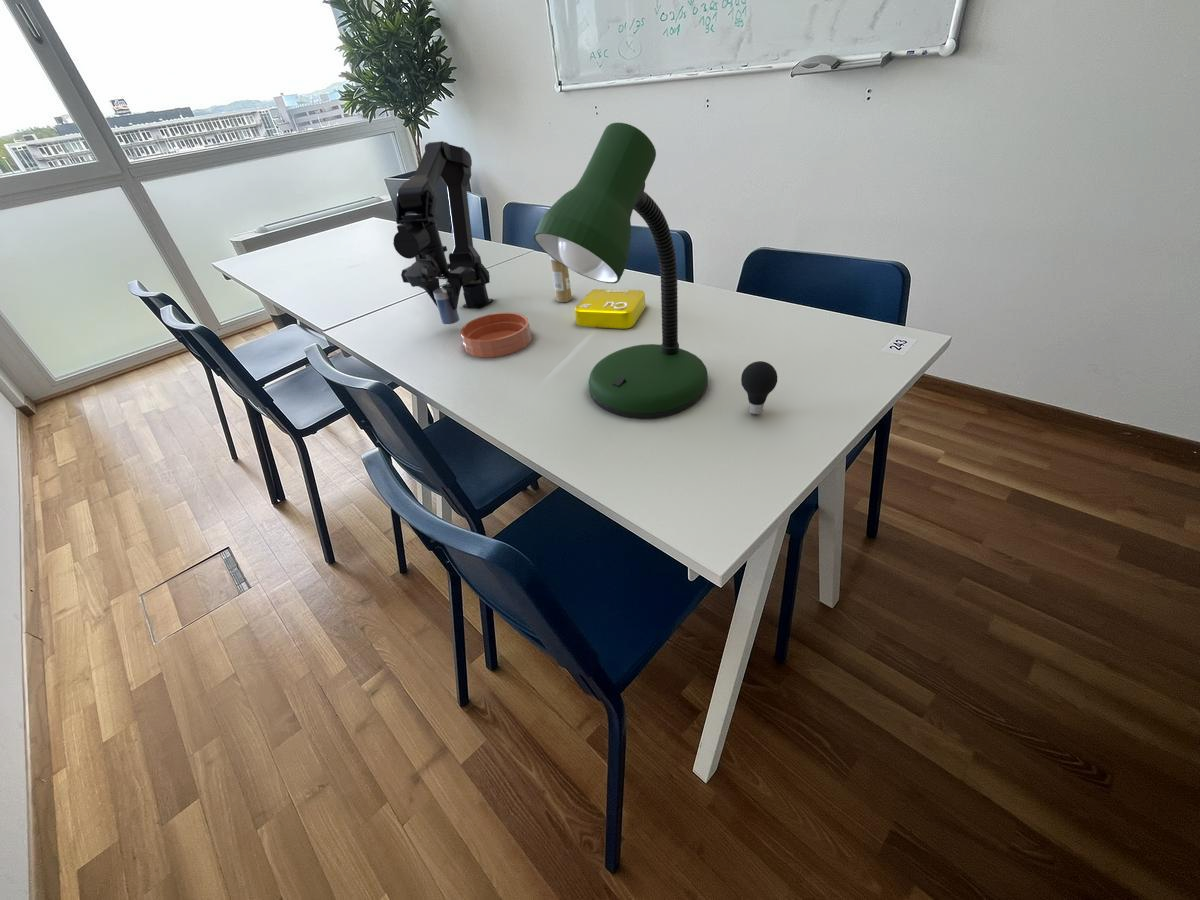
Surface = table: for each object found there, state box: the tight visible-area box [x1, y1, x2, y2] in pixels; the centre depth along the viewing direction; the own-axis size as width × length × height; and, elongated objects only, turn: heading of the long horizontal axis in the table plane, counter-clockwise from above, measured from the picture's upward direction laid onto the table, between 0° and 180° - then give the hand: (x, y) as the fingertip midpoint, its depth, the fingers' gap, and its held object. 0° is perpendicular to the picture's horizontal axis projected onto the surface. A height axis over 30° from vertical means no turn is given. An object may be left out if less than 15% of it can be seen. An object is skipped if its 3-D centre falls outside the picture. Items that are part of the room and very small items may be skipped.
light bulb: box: [740, 360, 778, 416], centre depth 88 cm, size 6×6×10 cm
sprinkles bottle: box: [549, 255, 573, 303], centre depth 140 cm, size 5×5×13 cm
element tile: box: [574, 288, 646, 330], centre depth 130 cm, size 15×15×5 cm
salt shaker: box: [433, 287, 460, 325], centre depth 129 cm, size 5×5×8 cm
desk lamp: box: [533, 122, 709, 420], centre depth 86 cm, size 31×23×45 cm
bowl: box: [460, 312, 533, 359], centre depth 124 cm, size 16×16×4 cm
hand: (447, 308), depth 130 cm, fingers closed on salt shaker, 4 cm apart
